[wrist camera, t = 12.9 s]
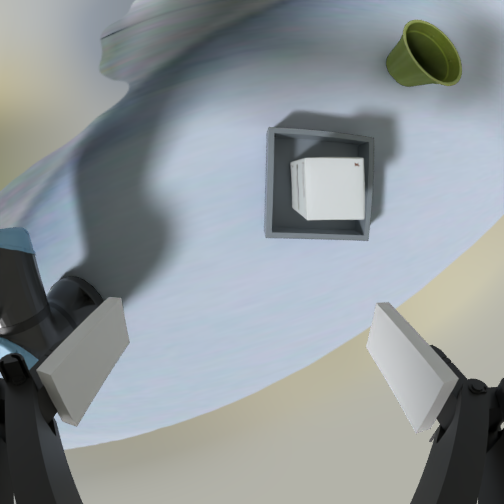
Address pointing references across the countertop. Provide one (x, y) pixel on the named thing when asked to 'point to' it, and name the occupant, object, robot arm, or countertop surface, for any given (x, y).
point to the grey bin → (280, 187)
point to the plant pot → (424, 57)
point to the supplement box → (328, 188)
